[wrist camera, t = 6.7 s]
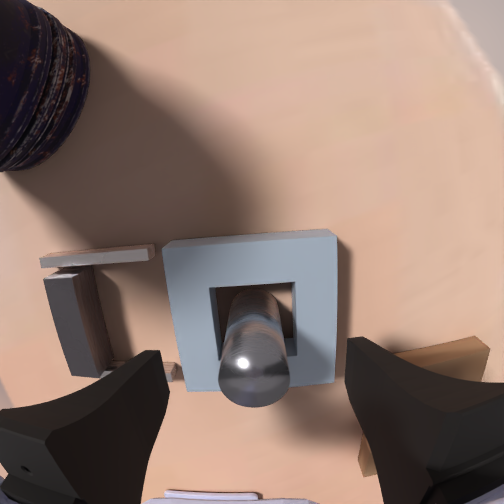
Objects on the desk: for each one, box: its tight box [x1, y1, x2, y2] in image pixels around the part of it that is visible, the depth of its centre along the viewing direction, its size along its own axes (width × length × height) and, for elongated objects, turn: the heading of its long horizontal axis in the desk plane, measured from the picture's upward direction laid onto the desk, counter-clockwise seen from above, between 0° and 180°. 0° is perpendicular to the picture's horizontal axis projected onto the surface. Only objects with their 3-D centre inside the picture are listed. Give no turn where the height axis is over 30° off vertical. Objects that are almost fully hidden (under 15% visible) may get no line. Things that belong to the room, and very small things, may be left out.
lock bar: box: [43, 265, 114, 378], centre depth 16 cm, size 6×2×2 cm, turn 4°
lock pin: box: [218, 288, 290, 407], centre depth 14 cm, size 3×3×6 cm
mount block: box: [358, 336, 490, 477], centre depth 18 cm, size 10×8×2 cm
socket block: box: [162, 229, 337, 392], centre depth 16 cm, size 8×8×2 cm
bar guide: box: [39, 244, 177, 382], centre depth 17 cm, size 8×7×1 cm
